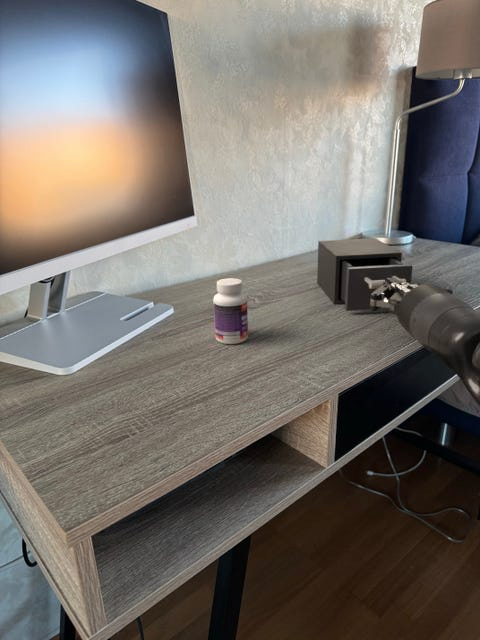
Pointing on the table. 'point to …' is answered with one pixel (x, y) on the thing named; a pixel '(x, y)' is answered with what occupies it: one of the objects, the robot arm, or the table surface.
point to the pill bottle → (230, 312)
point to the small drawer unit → (346, 250)
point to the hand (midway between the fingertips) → (389, 283)
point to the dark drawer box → (368, 279)
